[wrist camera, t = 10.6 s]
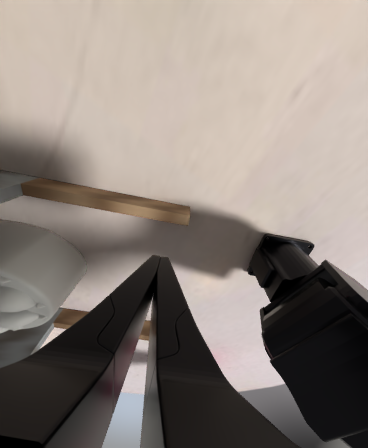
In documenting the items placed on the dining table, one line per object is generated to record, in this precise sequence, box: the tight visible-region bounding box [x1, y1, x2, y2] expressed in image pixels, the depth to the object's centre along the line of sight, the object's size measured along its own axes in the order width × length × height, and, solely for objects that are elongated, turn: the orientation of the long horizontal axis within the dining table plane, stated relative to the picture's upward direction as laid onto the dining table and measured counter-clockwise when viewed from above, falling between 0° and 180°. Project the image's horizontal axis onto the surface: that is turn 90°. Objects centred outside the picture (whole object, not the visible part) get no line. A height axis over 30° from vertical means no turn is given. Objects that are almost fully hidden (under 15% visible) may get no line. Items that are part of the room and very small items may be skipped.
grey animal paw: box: [0, 220, 87, 333], centre depth 21 cm, size 10×13×9 cm
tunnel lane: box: [0, 170, 190, 368], centre depth 19 cm, size 27×23×13 cm
